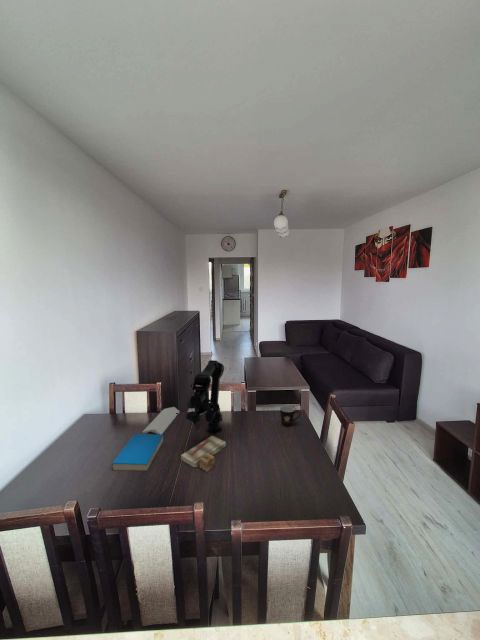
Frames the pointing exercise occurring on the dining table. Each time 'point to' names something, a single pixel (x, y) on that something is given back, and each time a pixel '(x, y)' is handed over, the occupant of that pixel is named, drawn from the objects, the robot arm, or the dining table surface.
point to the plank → (203, 450)
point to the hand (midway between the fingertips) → (203, 426)
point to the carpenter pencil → (199, 447)
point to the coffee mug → (287, 415)
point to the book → (138, 452)
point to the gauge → (206, 462)
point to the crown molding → (162, 421)
